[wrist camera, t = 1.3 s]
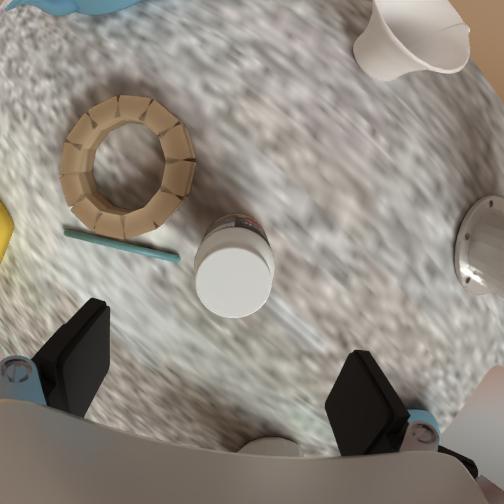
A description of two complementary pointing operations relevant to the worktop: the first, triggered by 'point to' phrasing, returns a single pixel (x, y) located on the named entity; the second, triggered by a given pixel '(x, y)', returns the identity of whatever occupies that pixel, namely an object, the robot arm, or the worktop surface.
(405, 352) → the worktop surface
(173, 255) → the green stick
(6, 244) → the teapot
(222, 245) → the pill bottle
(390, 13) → the cup
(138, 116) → the segmented tan ring
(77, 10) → the teapot
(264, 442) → the jar
